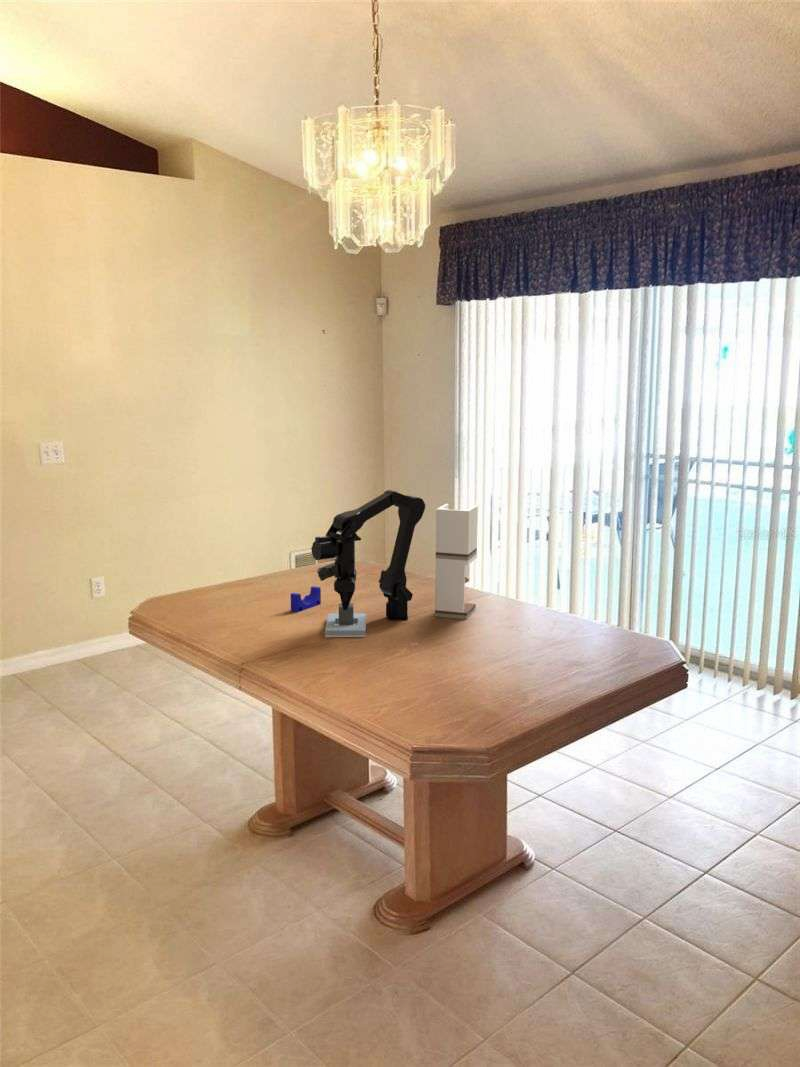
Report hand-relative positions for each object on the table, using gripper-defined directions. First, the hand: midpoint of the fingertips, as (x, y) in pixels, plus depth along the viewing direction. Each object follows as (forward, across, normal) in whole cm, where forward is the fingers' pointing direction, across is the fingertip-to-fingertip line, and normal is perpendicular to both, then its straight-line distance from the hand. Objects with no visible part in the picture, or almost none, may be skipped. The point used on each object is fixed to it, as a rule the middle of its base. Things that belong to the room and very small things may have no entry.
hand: (345, 605), depth 266 cm
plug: (+7, 0, 0) cm, 7 cm away
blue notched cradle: (+8, -24, -15) cm, 29 cm away
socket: (+7, 0, 0) cm, 7 cm away
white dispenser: (+7, -16, +35) cm, 39 cm away
